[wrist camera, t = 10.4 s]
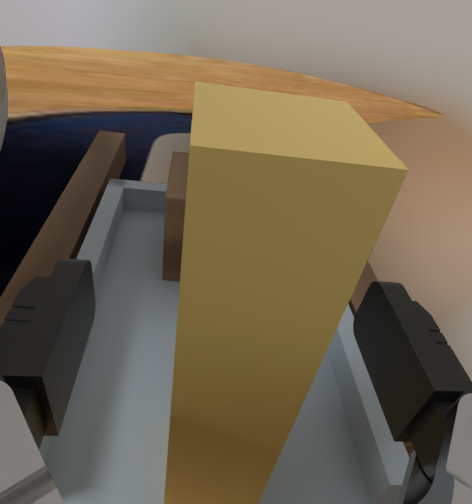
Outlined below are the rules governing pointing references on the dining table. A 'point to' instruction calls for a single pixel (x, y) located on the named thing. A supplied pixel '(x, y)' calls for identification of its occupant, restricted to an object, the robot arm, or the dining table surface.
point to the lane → (82, 213)
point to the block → (175, 216)
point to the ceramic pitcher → (3, 99)
